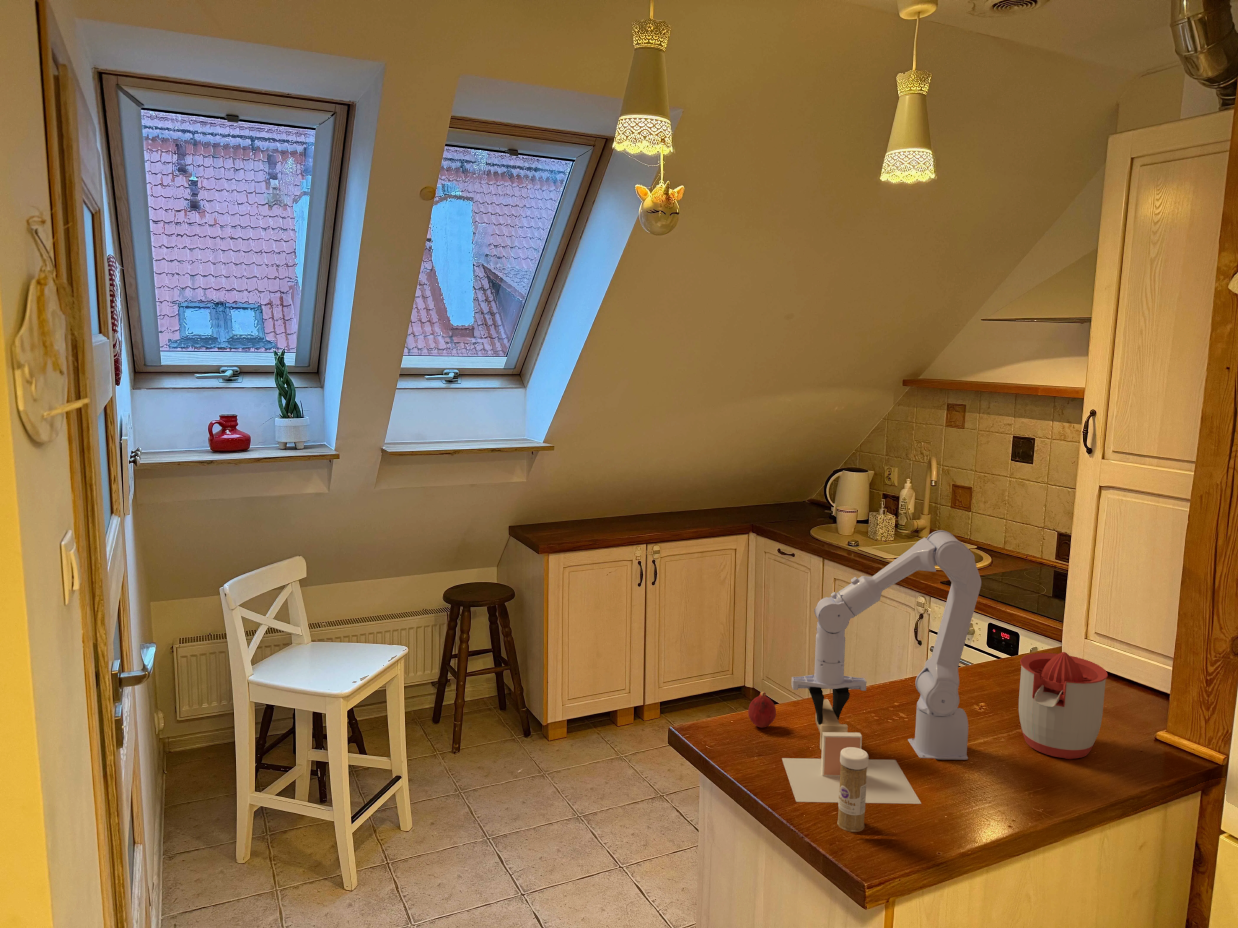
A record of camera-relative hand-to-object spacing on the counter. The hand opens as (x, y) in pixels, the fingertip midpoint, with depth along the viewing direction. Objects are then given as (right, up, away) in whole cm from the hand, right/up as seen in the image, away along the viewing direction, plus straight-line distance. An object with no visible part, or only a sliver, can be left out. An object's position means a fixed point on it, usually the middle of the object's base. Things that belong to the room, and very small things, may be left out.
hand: (827, 722), depth 176 cm
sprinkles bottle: (-3, -9, -28) cm, 30 cm away
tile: (0, -6, -12) cm, 13 cm away
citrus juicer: (+46, -5, 0) cm, 46 cm away
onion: (-12, -4, +8) cm, 15 cm away
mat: (+1, -7, -14) cm, 15 cm away
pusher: (0, -2, 0) cm, 2 cm away
